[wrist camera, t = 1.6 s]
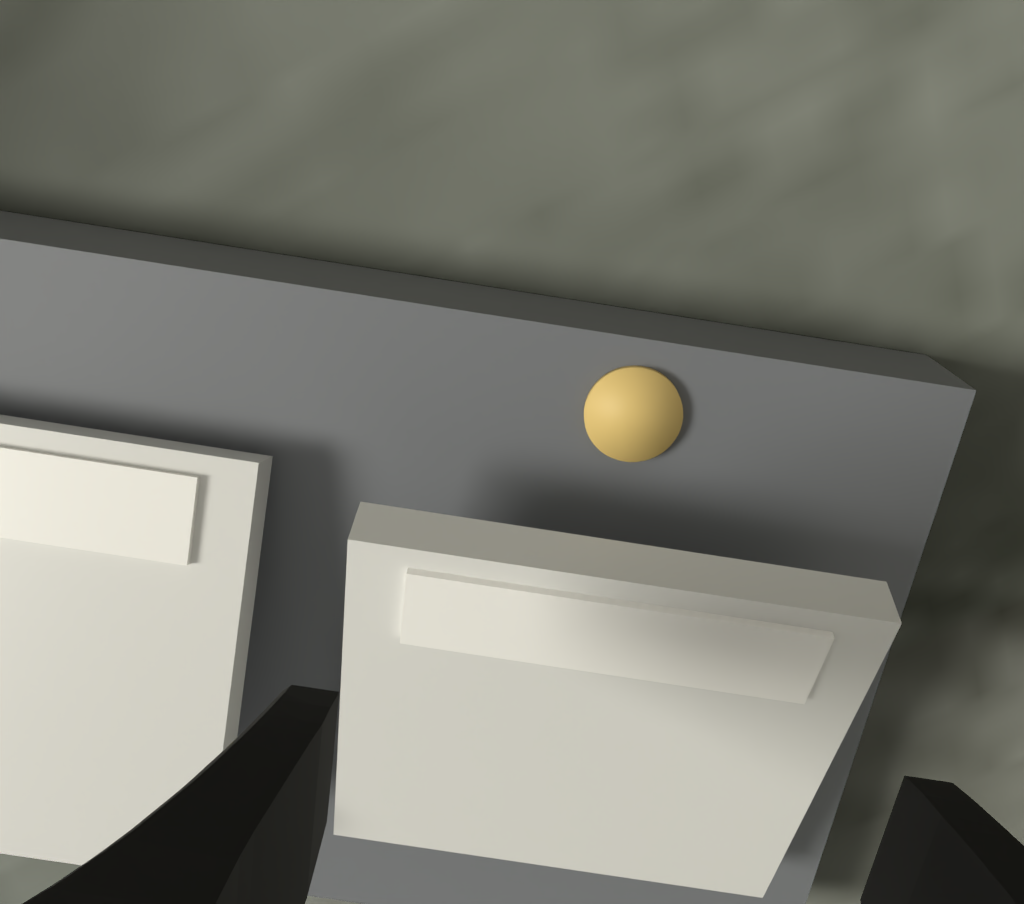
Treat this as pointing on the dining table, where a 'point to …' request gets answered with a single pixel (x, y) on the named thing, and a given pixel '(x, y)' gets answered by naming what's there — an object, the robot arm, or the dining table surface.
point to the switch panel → (479, 456)
